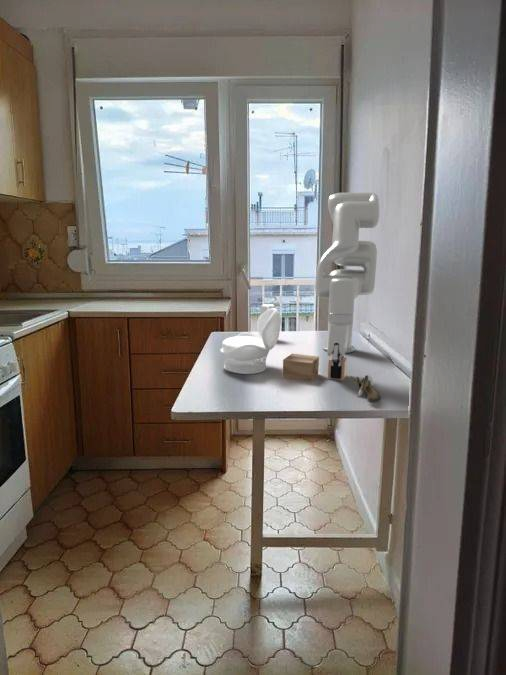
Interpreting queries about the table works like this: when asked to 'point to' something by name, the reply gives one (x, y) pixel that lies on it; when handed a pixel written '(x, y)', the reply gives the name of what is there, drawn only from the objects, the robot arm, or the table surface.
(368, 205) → the robot arm
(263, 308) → the white rounded tall piece
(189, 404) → the table surface
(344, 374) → the peach block
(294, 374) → the walnut block
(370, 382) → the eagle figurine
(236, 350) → the white toilet model
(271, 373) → the table surface
